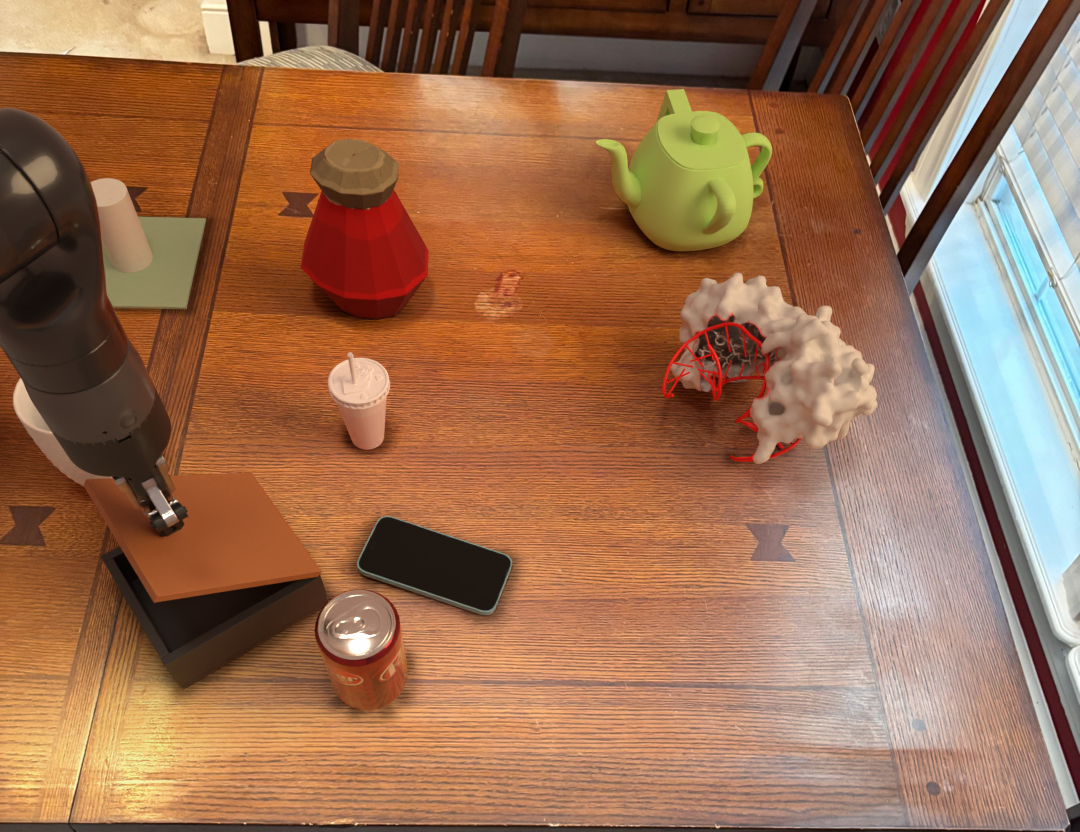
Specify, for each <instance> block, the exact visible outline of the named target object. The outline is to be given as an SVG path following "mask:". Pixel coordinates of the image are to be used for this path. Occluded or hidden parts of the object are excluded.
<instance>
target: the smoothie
mask: <svg viewBox="0 0 1080 832" xmlns="http://www.w3.org/2000/svg"><path fill="white" fill-rule="evenodd" d="M327 386H328V393H329V396H330V397H331V398H332V400H333V401H334V402H335V404H336V405H337V408H338V410H339V412H340V416H341V417H342V420H343V423H344V426H345V428H346V431H347V432H348V435H349V438H350V440H351V442H352V445H354V446H355V447H356V448H358V449H360V450H366V451H367V450H373V449H375V448H378V447H379V446H381V445H382V444H383V442H384V439H385V430H386V429H385V428H386V427H385V426H386V414H387V413H386V412H387V399H388V395H389V393H390V390H391V380H390V376H389V373H388V370H387V369H386V368H385V366H384V365H383V364H381V363H380V362H378V361H376V360H375V359H373V358H368V357H354V353H353V352H352V351H351V352H350V351H349V352H347V359H345V360H343V361H341V362H339V363H337V365H335V366H334V367H333V368H332V370H331V371H330V372H329V374H328V377H327Z"/></svg>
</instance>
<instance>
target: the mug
mask: <svg viewBox="0 0 1080 832" xmlns="http://www.w3.org/2000/svg"><path fill="white" fill-rule="evenodd" d="M12 405H13V409H14V412H15V415H16V416H17V418H18V420H19V421H20V423H21V424H22V426H23V427H24V429H25V430H26V432H27V434H28V435H29V436H30V437H31V438H32V440H33V442H34V443H35V445H36V446H37V447H38V448H39V449H40V451H41V452H42V453H43V454H44V455H45V457H46V459H47V460H49V461H50V463H51V464H52V465H53V466H54V467H56V468H57V469H58V470H59V471H60V472H61V473H62V474H64V475H65V476H66V477H67V478H68V479H70V480H73V482H74V483H77V484H79V485H80V486H82V487H83V488H84V483H85V480H86V479H105V478H112V477H105V476H97V475H93V474H90V473H88V472H85V471H83V470H81V469H80V468H78V467H77V466H76V465H75V464H74V463H73V462H72V461H71V460H70V459H69V457H68V456H67V454H66V453H65V451H64V450H63V448H62V447H61V445H60V444H59V442H58V441H57V439H56V438H55V436H54V435H53V433H52V432H51V430H50V429H49V427H48V426H47V424H46V423H45V421H44V419H43V418H42V416H41V415H40V413H39V412H38V410H37V409H36V407H35V406H34V404H33V403H32V401H31V399H30V397H29V395H28V393H27V391H26V388H25V386H24V383H23V381H22V379H21V377H20V378H19V379H18V380H17V383H16V385H15V387H14V389H13V394H12Z"/></svg>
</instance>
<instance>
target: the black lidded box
mask: <svg viewBox="0 0 1080 832" xmlns="http://www.w3.org/2000/svg"><path fill="white" fill-rule="evenodd" d="M100 559H101V560H102V562H103V564H104V566H105V567H106V569H107V571H108V573H109V574H110V576H111V577H112V579H113V581H114V583H115V584H116V586H117V588H118V589H119V591H120V593H121V595H122V596H123V598H124V600H125V601H126V603H127V605H128V606H129V608H130V610H131V612H132V613H133V615H134V616H135V617H134V618H136V621H137V622H138V623H139V625H140V627H141V629H142V630H143V632H144V634H145V635H146V637H147V639H148V640H149V642H150V644H151V646H152V647H153V649H154V651H155V653H156V655H157V656H158V658H159V659H160V661H161V663H162V664H163V667H165V669H166V670H167V671H168V673H169V674H170V675H171V676H172V678H173V680H174V681H175V682H176V683H177V685H178V686H179V687H180V688H181V689H182V690H183V691H184V690H186V689H187V688H189V687H191V686H192V685H194V684H195V683H197V682H200V681H201V680H202V679H204V678H206V677H207V676H210V675H211V674H212V673H215V672H216V671H218V670H219V669H222V668H223V667H224V666H226V665H228V664H230V663H232V662H233V661H234V660H236V659H238V658H239V657H242V656H243V655H245V654H247V653H249V652H250V651H252V650H253V649H255V648H257V647H259V646H260V645H262V644H263V643H265V642H267V641H268V640H270V639H272V638H274V637H276V636H277V635H279V634H281V633H282V632H283V631H285V630H287V629H289V628H291V627H293V626H294V625H296V624H297V623H299V622H301V621H302V620H304V619H306V618H307V617H309V616H311V615H313V614H314V613H316V612H318V611H319V610H321V609H322V608H323V607H324V605H325V604H326V603H327V602H328V601H329V599H328V596H327V592H326V589H325V586H324V583H323V579H322V576H321V574H320V575H319V576H318V577H313V578H307V579H300V580H294V581H288V582H281V583H275V584H269V585H263V586H256V587H250V588H244V589H237V590H231V591H225V592H218V593H212V594H206V595H199V596H193V597H187V598H181V599H174V600H168V601H162V602H155V603H154V602H153V600H152V599H151V597H150V595H149V594H148V592H147V590H146V589H145V587H144V585H143V584H142V582H141V580H140V579H139V577H138V575H137V574H136V572H135V570H134V569H133V567H132V566H131V564H130V562H129V561H128V559H127V557H126V556H125V554H124V552H123V551H122V549H121V547H120V546H119V545H118V546H117V547H115V548H112V549H111V550H109V551H107V552H105V553H103V554H101V555H100Z"/></svg>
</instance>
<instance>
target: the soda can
mask: <svg viewBox="0 0 1080 832" xmlns="http://www.w3.org/2000/svg"><path fill="white" fill-rule="evenodd" d="M314 637H315V642H316V644H317V647H318V650H319V652H320V655H321V658H322V660H323V664H324V665H325V666H324V667H325V669H326V671H327V675H328V677H329V680H330V683H331V686H332V689H333V691H334V692H335V694H336V696H337V697H338V699H340V700H341V702H343V703H344V704H345V705H347V706H349V707H350V708H353V709H357V710H361V711H373V710H374V711H375V710H379V709H381V708H384V707H386V706H388V705H390V704H391V703H393V702H394V701H395V700H397V698H398V697H399V696H400V695H401V693H402V692H403V691H404V688H405V687H406V684H407V681H408V673H409V669H408V663H407V656H406V651H405V650H406V649H405V644H404V643H405V642H404V640H403V639H404V637H403V632H402V626H401V619H400V615H399V612H398V610H397V608H396V606H395V605H394V603H392V601H391V600H389V598H388V597H386V596H384V595H383V594H381V593H379V592H377V591H374V590H370V589H365V588H364V589H363V588H362V589H361V588H360V589H359V588H355V589H349V590H345V591H343V592H341V593H339V594H337V595H335V596H333V597H331V598H330V599H328V602H327V603H326V604H325V605H324V607H323V608H321V609H320V611H319V613H318V615H317V617H316V620H315V624H314Z"/></svg>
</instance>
